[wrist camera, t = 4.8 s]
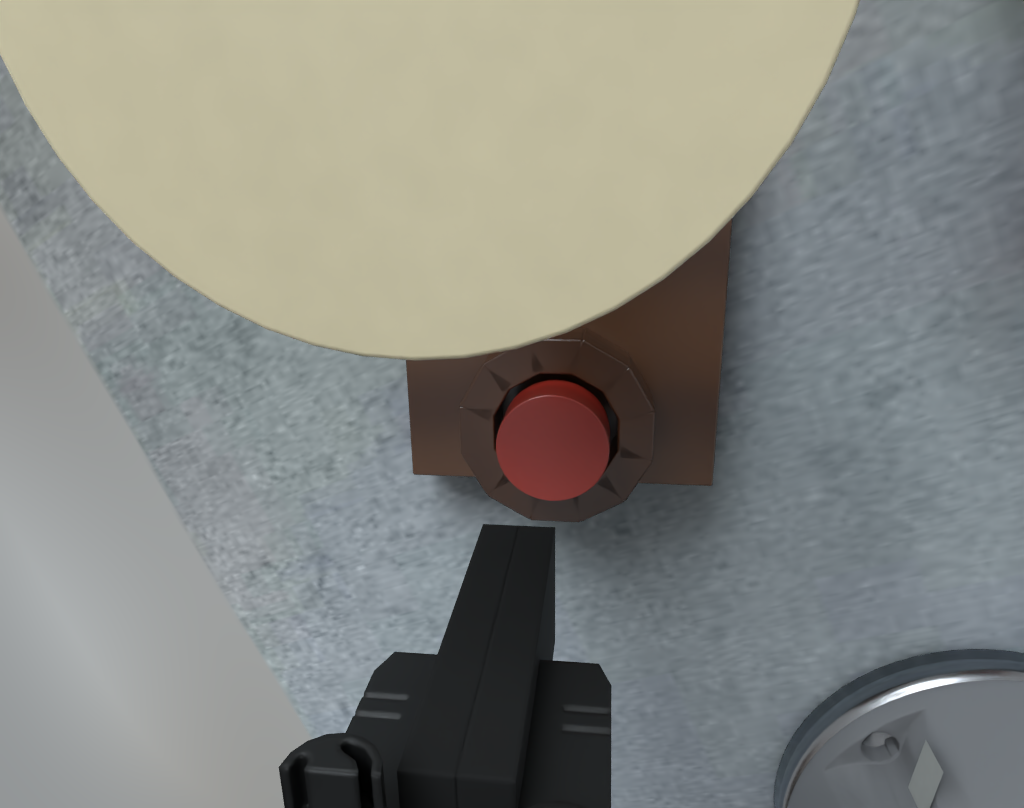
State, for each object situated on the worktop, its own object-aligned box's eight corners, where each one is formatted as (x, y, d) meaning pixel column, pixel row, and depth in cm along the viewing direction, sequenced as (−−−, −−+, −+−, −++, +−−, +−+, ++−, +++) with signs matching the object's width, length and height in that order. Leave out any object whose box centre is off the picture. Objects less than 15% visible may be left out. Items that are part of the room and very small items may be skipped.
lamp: (673, 217, 22) (831, 369, 6) (442, 218, 23) (48, 354, 7) (686, -52, 20) (989, -926, 4) (431, -39, 21) (-183, -705, 5)
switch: (608, 481, 25) (608, 503, 24) (504, 477, 26) (496, 499, 24) (611, 380, 24) (610, 396, 23) (502, 378, 25) (494, 393, 23)
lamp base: (704, 481, 29) (718, 529, 25) (427, 470, 30) (400, 514, 26) (738, -4, 24) (762, -34, 20) (401, 11, 25) (364, -15, 21)
